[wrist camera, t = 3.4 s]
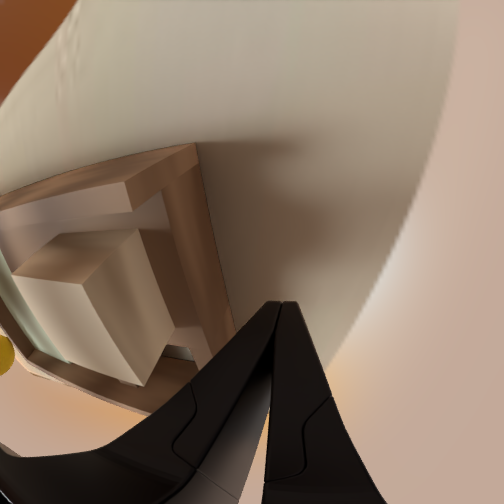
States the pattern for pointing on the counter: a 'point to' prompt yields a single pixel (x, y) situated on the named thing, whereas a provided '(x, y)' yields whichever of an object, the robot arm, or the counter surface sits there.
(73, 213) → the wooden compartment tray
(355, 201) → the counter surface
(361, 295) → the counter surface
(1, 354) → the lemon
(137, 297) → the block
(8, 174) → the counter surface
